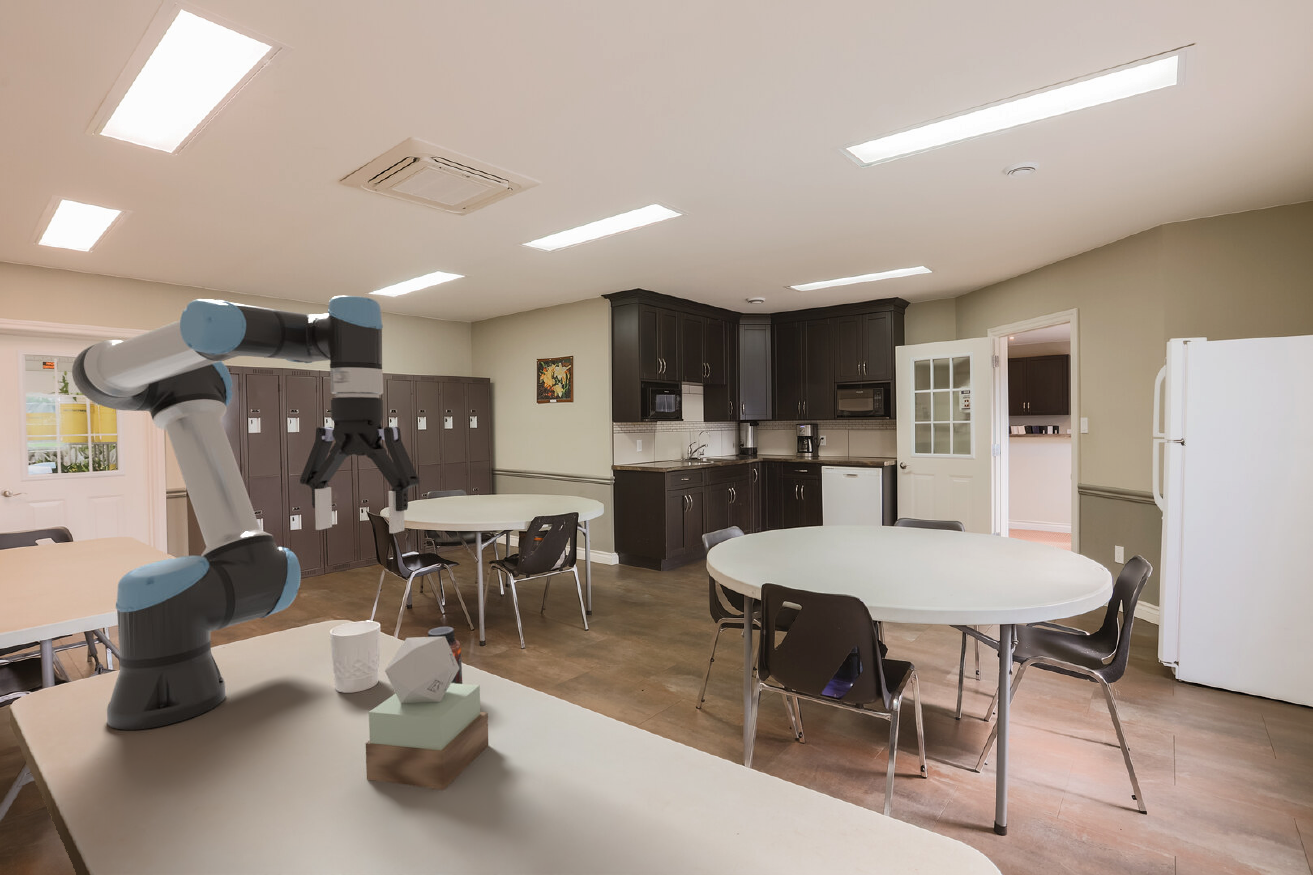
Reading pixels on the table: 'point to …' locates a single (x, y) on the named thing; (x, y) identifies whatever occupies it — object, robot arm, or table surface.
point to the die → (422, 670)
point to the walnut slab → (428, 758)
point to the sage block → (425, 719)
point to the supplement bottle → (454, 646)
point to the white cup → (356, 655)
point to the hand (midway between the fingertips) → (359, 530)
